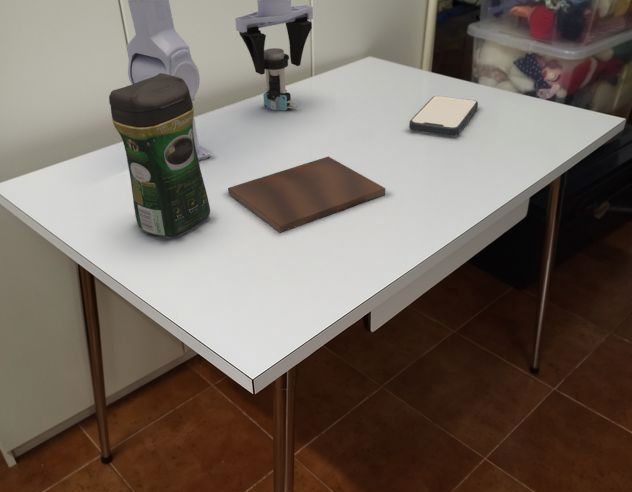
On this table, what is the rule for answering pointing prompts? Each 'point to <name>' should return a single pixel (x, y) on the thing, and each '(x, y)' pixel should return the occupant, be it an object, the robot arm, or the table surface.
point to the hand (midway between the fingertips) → (278, 68)
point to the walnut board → (305, 193)
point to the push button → (276, 80)
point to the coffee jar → (161, 154)
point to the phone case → (443, 115)
